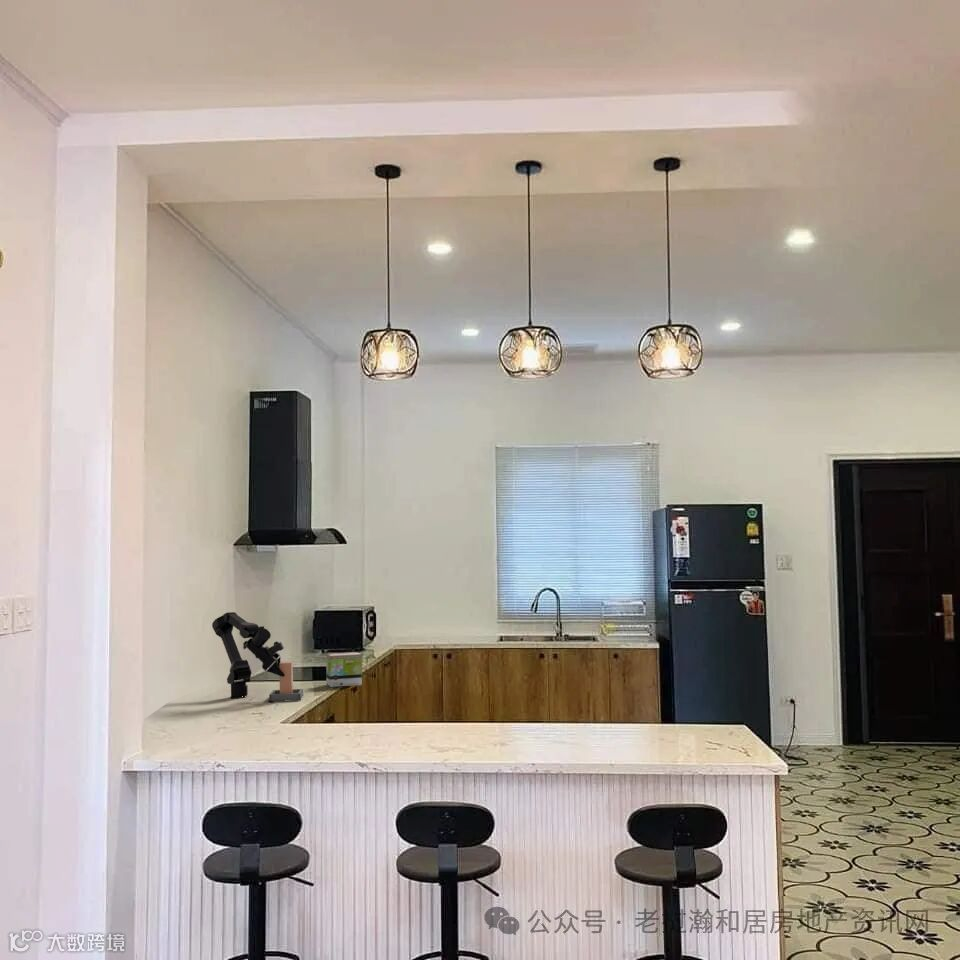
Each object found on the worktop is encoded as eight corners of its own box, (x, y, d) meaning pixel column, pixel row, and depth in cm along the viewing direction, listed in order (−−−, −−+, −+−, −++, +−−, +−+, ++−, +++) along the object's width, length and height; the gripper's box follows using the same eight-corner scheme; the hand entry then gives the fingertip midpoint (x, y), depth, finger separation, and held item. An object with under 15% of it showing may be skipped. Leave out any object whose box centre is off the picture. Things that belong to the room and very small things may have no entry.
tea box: (330, 688, 408) (330, 655, 409) (326, 685, 417) (325, 653, 418) (362, 685, 414) (362, 653, 415) (357, 682, 423) (356, 651, 424)
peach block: (279, 698, 377) (279, 663, 378) (281, 696, 383) (280, 661, 384) (291, 698, 378) (291, 662, 379) (293, 696, 384) (292, 661, 385)
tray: (269, 702, 373) (269, 694, 373) (273, 697, 386) (273, 690, 386) (300, 700, 375) (300, 693, 375) (303, 695, 387) (303, 688, 388)
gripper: (269, 638, 373) (296, 663, 373) (274, 633, 391) (300, 658, 392) (250, 657, 371) (277, 683, 372) (256, 652, 390) (282, 676, 390)
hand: (285, 674), depth 381 cm, fingers open, 9 cm apart
